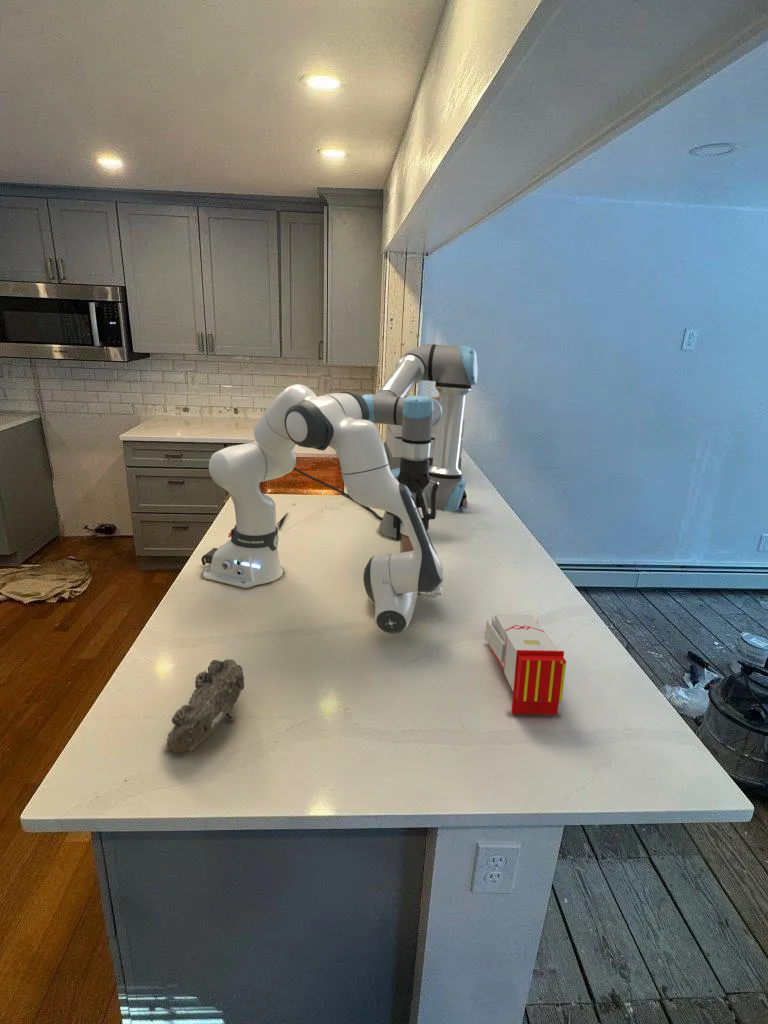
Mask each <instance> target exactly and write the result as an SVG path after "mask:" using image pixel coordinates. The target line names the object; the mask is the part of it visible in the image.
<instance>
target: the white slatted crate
mask: <svg viewBox="0 0 768 1024" xmlns="http://www.w3.org/2000/svg"><path fill="white" fill-rule="evenodd" d="M408 396H409V395H407V396H406V397H408ZM429 397H430V398H433V399H435V400H437V401H439V396H429ZM464 429H465V419H464V418H463V423H462V433H461V442H460V451H459V460H458V469H459V470H460V471H461V472H462V461H463V460H462V453H463V442H464V441H463V440H462V439H463V438H464V431H465V430H464ZM435 432H436V425H435V426H433V427H432V431H431V445H430V457H429V458H428V459H429V467H431V466H432V463H433V453H434V442H435ZM401 440H402V426H400V425H391V424H386V428H385V438H384V441H383V444H384V447H385V450H386V454H387V457H388V462H389V466H390V469H391V470H393V469H396V468H400V459H401V457H402V456H401Z"/></svg>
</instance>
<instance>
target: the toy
mask: <svg viewBox="0 0 768 1024" xmlns="http://www.w3.org/2000/svg"><path fill="white" fill-rule="evenodd" d="M494 615H495V616H494V617H491V622H490V620H485V621H486V622H485V630H484V640H485V641H486V642H487V646H488V647H489V649H490V651H491V652H492V654H493V656H494V657H495V659H496V661H497V663H498V665H499V667H500V668H501V670H502V671H503V674H504V676H505V678H506V680H507V682H508V684H509V686H510V689H511V690H512V701H511V712H510V713H511V714H512V715H556V716H558V715H559V714H558V713H559V705H560V703H562V702H563V695H564V694H563V693H564V686H565V685H564V683H565V677H566V676H565V675H566V667H567V666H566V665H567V660H566V658H564V656H565V651H564V650H559V649H558V648H557V646H556V645H555V644H554V642H553V641H552V640H551V638H550V637H549V636H548V634H547V633H546V631H544V629H543V628H542V626H541V625H540V623H539V622H538V620H536V618H535V617H534V615H531V614H530V615H527V614H526V615H523V614H519V615H518V614H494Z"/></svg>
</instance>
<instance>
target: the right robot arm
mask: <svg viewBox="0 0 768 1024" xmlns="http://www.w3.org/2000/svg"><path fill="white" fill-rule="evenodd" d="M394 366H395V369H394V370H393V371H392V372H391V374H390V375H389V376H388V378H387V379H386V380H385V382H384V383H383V384H382V385H381V387H380V388H379V389H378V391H377V392H376V393H375V394H373V393H370V394H363V395H361V396H362V397H363V399H364V400H365V401H366V403H367V405H368V408H369V421H371V422H373V423H374V424H380V425H381V424H382V425H387V424H391V425H400V426H402V440H401V456H402V457H401V459H400V468H396V469H393V470H391V472H392V474H393V475H394V477H395V478H396V479H397V480H398V482H399V483H401V484H404V485H406V486H407V487H408V488H409V490H410V492H411V493H412V495H413V498H414V500H415V502H416V505H417V507H418V509H419V508H420V510H421V514H422V520H423V522H424V525H425V527H426V530H427V531H429V525H430V521H431V520H435V519H436V517H437V511H442V512H450V513H451V512H452V513H454V512H456V511H457V510H458V508H459V505H460V503H461V500H462V496H463V493H464V490H465V489H466V479H465V478H464V477H463V478H462V475H463V474H462V470H461V471H460V470H459V469H458V460H459V451H460V442H461V440H462V438H461V433H462V423H463V419H464V412H465V403H466V395H467V394H468V393H469V392H470V391H472V386H474V385H476V384H477V382H478V356H477V351H476V350H475V348H474V347H471V346H466V345H465V346H464V345H455V344H454V345H451V344H436V343H435V344H434V343H427V344H422V345H419V346H415V347H413V348H411V349H409V350H408V351H406V352H405V353H403V354H402V355H401V356H400V357H399V359H398V360H397V361H396V363H395V365H394ZM421 381H425V382H435V384H434V386H435V387H434V388H435V389H436V390H437V392H438V397H439V401H437V400H435V399H433V398H430V397H431V396H425V395H409V393H410V392H411V390H412V389H413V387H414V386H415V384H418V383H419V382H421ZM406 396H408V397H406ZM435 425H436V432H435V442H434V453H433V463H432V465H430V466H429V459H428V458H429V457H430V445H431V431H432V427H433V426H435ZM293 470H294V471H296V472H298V473H299V474H301V475H302V476H305V477H307V478H309V479H311V480H313V481H315V482H316V483H317V482H318V483H319V484H322V485H323V486H326V487H328V488H329V489H332V490H334V491H336V492H337V493H340V494H342V495H343V496H345V497H347V498H348V499H351V501H354V500H353V499H352V498H351V497H350V496H349V494H348V493H346V492H345V491H342V490H340V489H338V488H337V487H335V486H333V485H331V484H328V483H327V482H324V481H322V480H320V479H318V478H315V477H314V476H312V475H310V474H307V473H306V472H303V471H302V470H300V469H298V468H297V467H296V466H295V467H294V469H293ZM354 502H355V503H357V502H356V501H354ZM359 505H360V506H361V507H363V508H365V509H366V510H367V511H369V512H370V513H371V514H372V515H373V516H375V517H376V518H377V519H378V520H380V521H381V522H379V526H378V533H379V534H380V535H381V536H382V537H385V538H387V539H389V540H395V541H396V542H400V541H401V533H400V524H401V523H403V522H402V520H401V519H400V518H399V517H398V516H396V515H395V514H393V513H390V512H387V511H384V513H383V515H382V517H381V516H380V515H379V514H378V513H376V511H374V510H373V508H370V507H366V506H363V505H361V504H359ZM459 509H460V508H459ZM429 510H430V512H429Z"/></svg>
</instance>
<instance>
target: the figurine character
mask: <svg viewBox="0 0 768 1024" xmlns="http://www.w3.org/2000/svg"><path fill="white" fill-rule="evenodd" d="M467 495H468V494H467V493H466V490H465V489H464V493H463V496H462V500H461V503H460V505H459V508H458V509H459V510H460V512H463V509H464V508H465V509H466V508H467V506H468V499H467V497H468V496H467ZM458 509H457V510H458Z"/></svg>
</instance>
